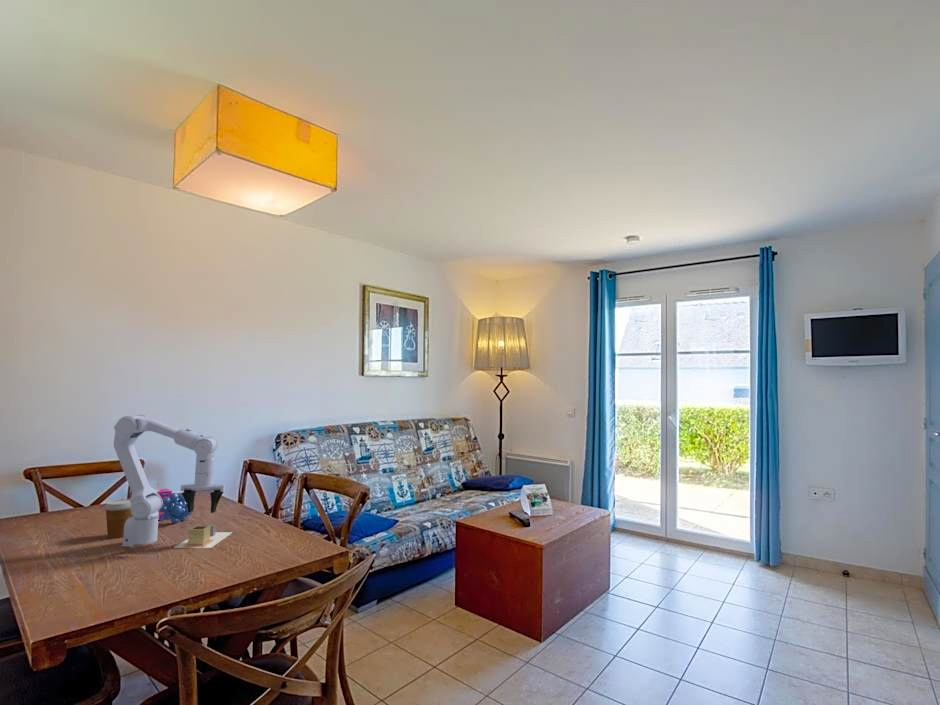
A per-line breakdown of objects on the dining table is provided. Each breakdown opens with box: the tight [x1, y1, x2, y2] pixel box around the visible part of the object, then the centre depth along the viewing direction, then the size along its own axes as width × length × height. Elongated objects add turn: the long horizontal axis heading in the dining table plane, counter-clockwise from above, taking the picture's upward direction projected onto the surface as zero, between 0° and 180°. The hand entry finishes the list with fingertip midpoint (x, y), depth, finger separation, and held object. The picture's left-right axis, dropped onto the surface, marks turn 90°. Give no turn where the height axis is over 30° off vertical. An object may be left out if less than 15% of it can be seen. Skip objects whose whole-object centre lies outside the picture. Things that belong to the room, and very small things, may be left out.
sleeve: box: [187, 525, 211, 545], centre depth 171 cm, size 5×5×5 cm
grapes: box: [160, 492, 194, 524], centre depth 197 cm, size 12×7×12 cm, turn 132°
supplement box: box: [155, 488, 173, 521], centre depth 204 cm, size 6×6×12 cm
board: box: [173, 524, 233, 549], centre depth 176 cm, size 12×18×4 cm, turn 4°
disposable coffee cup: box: [104, 498, 134, 539], centre depth 181 cm, size 10×10×12 cm
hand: (201, 512), depth 175 cm, fingers open, 7 cm apart
